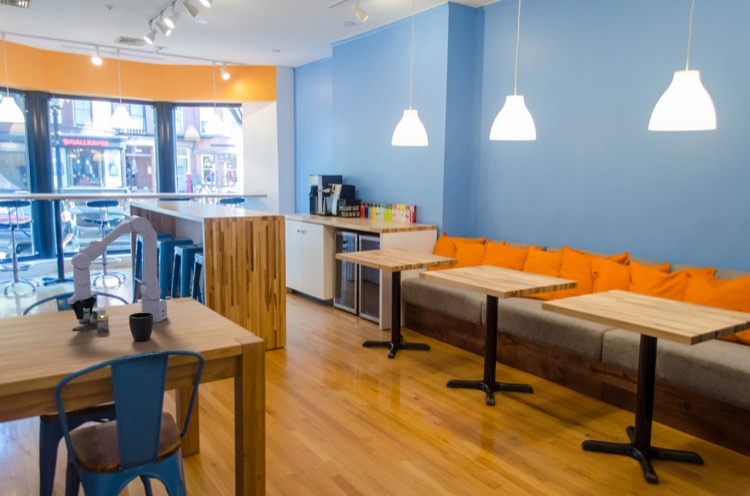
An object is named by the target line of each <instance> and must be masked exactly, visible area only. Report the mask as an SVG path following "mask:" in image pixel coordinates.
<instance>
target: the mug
mask: <svg viewBox="0 0 750 496" xmlns="http://www.w3.org/2000/svg"><path fill="white" fill-rule="evenodd" d="M128 324H129V325H128V326H129V329H130V333H131V336H132V338H133V341H134V343H136V342H137V343H143V342H148V341H150V339H151V337H152V333H153V329H154V328H153V327H154V322H153V314H152V313H149V312H142V311H141V312H140V311H139V312H134V313H131V314H129V315H128Z"/></svg>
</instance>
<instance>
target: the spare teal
mask: <svg viewBox="0 0 750 496" xmlns="http://www.w3.org/2000/svg"><path fill="white" fill-rule="evenodd" d="M89 323H90V307H84V311H83V319H82V320H79V319H78V324H79V325H82V324H89Z"/></svg>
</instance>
